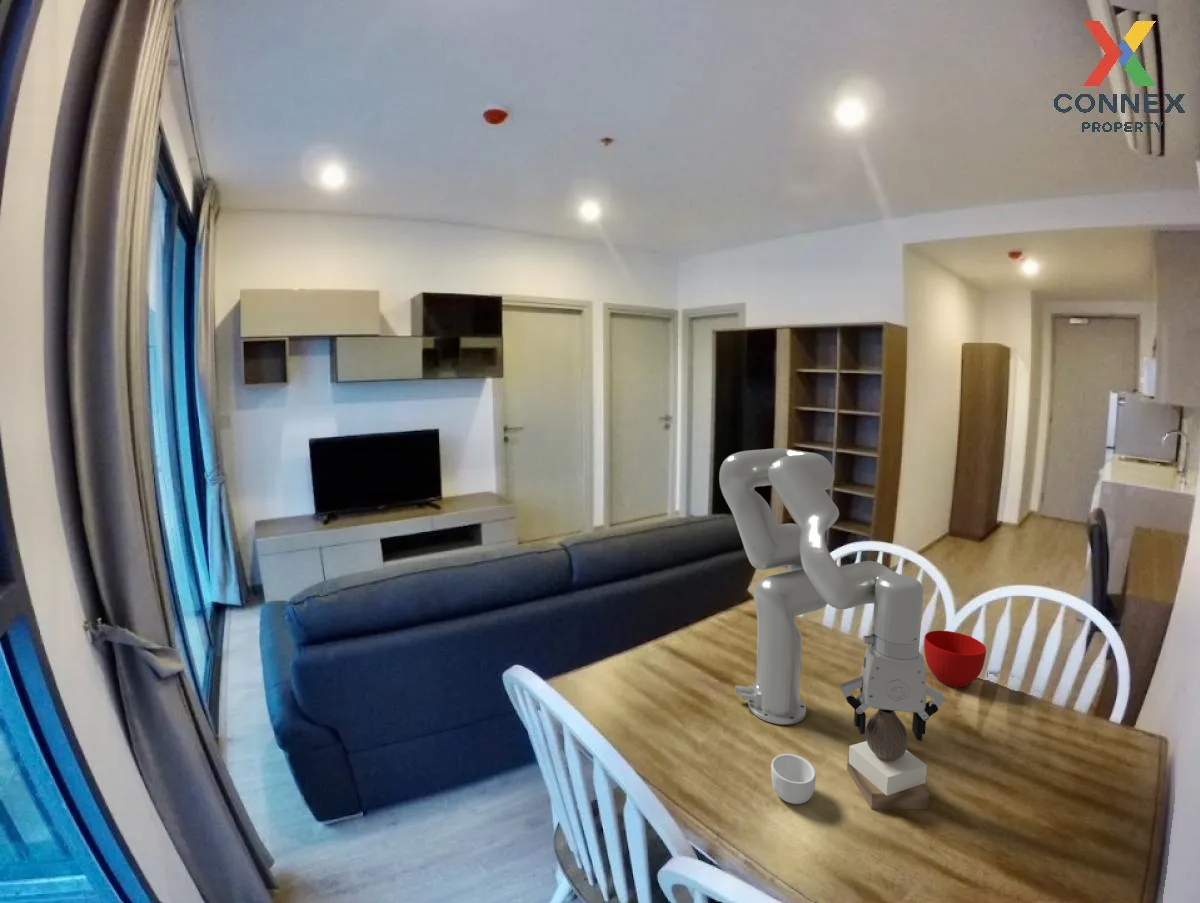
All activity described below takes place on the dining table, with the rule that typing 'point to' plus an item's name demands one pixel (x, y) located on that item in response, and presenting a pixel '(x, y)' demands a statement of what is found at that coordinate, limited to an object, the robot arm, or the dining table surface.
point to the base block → (900, 800)
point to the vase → (886, 735)
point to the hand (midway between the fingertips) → (888, 733)
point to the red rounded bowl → (954, 657)
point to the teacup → (793, 778)
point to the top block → (888, 769)
